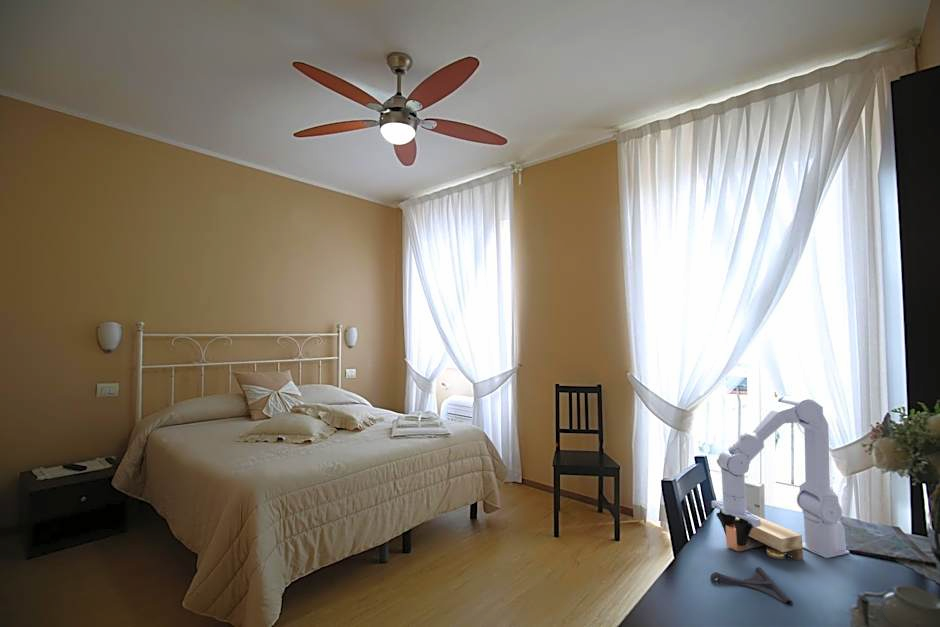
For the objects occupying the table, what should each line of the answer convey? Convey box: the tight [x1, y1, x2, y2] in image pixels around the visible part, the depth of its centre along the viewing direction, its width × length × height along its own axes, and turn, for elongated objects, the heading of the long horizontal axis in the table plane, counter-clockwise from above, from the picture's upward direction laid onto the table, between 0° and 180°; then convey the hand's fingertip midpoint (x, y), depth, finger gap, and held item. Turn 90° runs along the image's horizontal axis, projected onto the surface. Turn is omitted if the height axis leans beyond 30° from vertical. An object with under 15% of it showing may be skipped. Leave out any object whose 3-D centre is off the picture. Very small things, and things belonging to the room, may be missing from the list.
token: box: [765, 545, 786, 560], centre depth 120 cm, size 4×4×2 cm
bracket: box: [710, 566, 794, 606], centre depth 106 cm, size 14×15×3 cm
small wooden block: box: [725, 524, 767, 552], centre depth 125 cm, size 12×4×6 cm, turn 107°
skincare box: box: [745, 478, 766, 520], centre depth 144 cm, size 6×4×12 cm
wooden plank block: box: [735, 514, 804, 561], centre depth 124 cm, size 8×15×6 cm, turn 17°
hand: (736, 541), depth 124 cm, fingers closed on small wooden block, 3 cm apart
